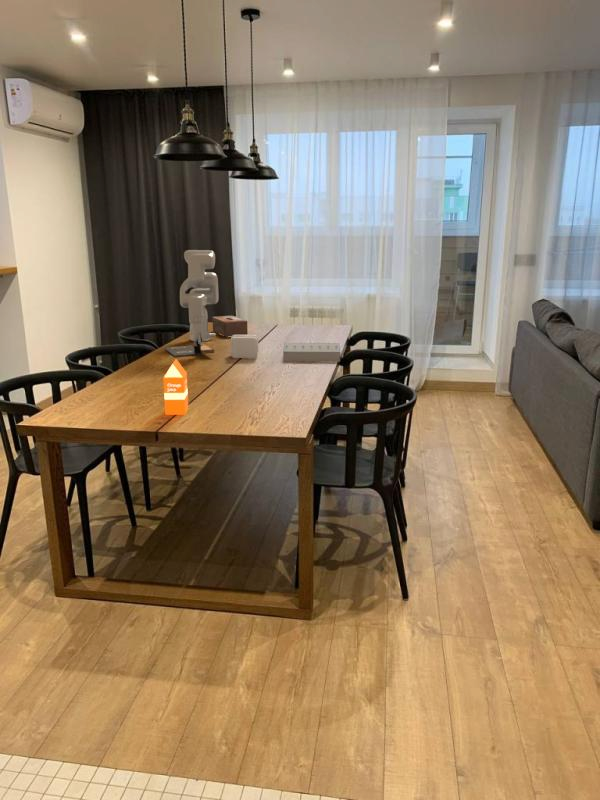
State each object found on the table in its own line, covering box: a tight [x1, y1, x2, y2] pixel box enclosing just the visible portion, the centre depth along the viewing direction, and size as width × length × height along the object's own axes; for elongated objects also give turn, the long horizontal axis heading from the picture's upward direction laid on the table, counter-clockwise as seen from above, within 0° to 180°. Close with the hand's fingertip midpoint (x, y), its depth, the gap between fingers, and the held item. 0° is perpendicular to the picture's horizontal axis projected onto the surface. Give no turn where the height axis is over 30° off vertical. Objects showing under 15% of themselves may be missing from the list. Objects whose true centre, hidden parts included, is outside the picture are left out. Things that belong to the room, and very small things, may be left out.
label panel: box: [163, 345, 204, 358], centre depth 352 cm, size 18×24×2 cm
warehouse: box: [282, 342, 341, 363], centre depth 335 cm, size 30×14×8 cm, turn 89°
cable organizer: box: [230, 334, 259, 360], centre depth 338 cm, size 15×11×12 cm
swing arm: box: [201, 343, 215, 355], centre depth 342 cm, size 18×6×2 cm, turn 25°
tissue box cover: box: [211, 315, 249, 338], centre depth 409 cm, size 26×14×10 cm, turn 27°
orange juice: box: [162, 358, 189, 416], centre depth 239 cm, size 8×9×20 cm
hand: (197, 353), depth 337 cm, fingers closed
